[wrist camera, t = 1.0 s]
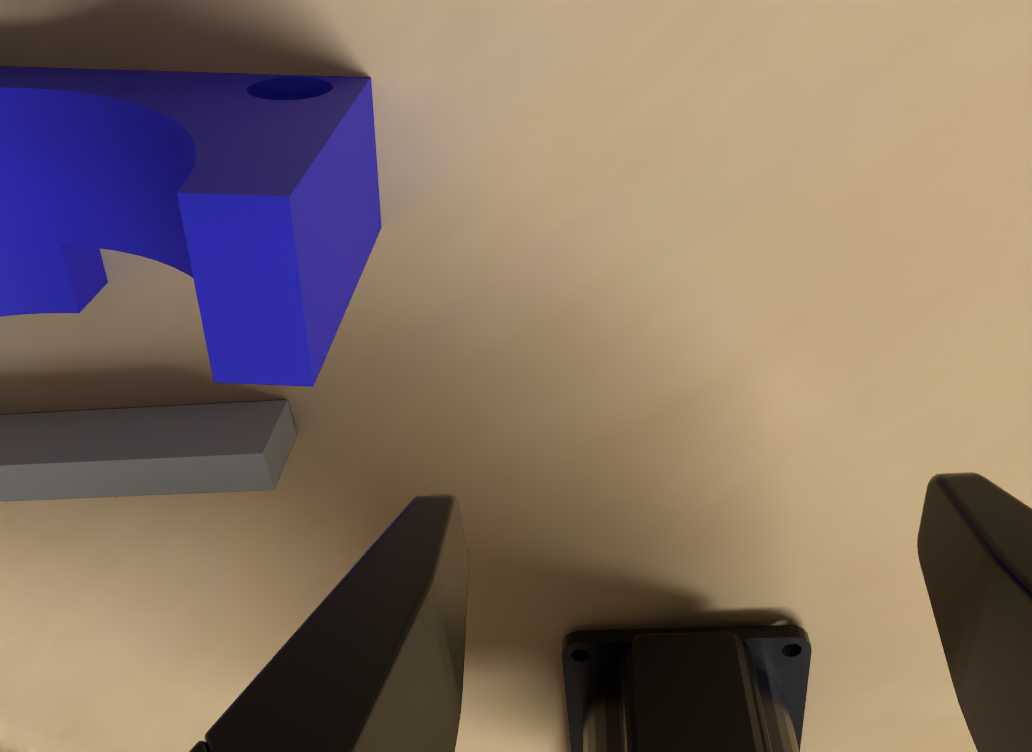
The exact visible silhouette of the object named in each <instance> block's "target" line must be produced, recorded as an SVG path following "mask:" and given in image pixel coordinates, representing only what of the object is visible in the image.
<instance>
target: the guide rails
mask: <svg viewBox="0 0 1032 752" xmlns="http://www.w3.org/2000/svg"><path fill="white" fill-rule="evenodd" d="M296 436H297V432H296V429H295V425H294V422H293V418H292V415H291V411H290V407H289V404H288V400H274V401H255V402H236V403H217V404H197V405H178V406H159V407H139V408H120V409H101V410H81V411H62V412H43V413H23V414H4V415H0V501H23V500H47V499H70V498H94V497H118V496H142V495H165V494H189V493H213V492H237V491H260V490H274V489H275V486H276V484H277V482H278V479H279V477H280V474H281V472H282V470H283V467H284V465H285V463H286V460H287V458H288V455H289V453H290V451H291V448H292V446H293V443H294V441H295V439H296Z"/></svg>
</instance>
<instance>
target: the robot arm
mask: <svg viewBox="0 0 1032 752" xmlns="http://www.w3.org/2000/svg"><path fill="white" fill-rule="evenodd" d="M917 547H918V556H919V561H920V565H921V569H922V573H923V576H924V580H925V584H926V587H927V591H928V595H929V598H930V602H931V606H932V609H933V613H934V617H935V620H936V624H937V627H938V631H939V635H940V638H941V642H942V646H943V649H944V653H945V657H946V660H947V664H948V668H949V671H950V675H951V678H952V682H953V685H954V688H955V692H956V695H957V698H958V702H959V705H960V707H961V710H962V713H963V715H964V718H965V721H966V723H967V726H968V729H969V731H970V733H971V736H972V738H973V741H974V743H975V746H976V748H977V751H978V752H1032V509H1031V508H1030V507H1028V506H1027V505H1025V504H1024V503H1022V502H1021V501H1019V500H1018V499H1016V498H1015V497H1013V496H1012V495H1010V494H1009V493H1007V492H1006V491H1004V490H1003V489H1001V488H1000V487H998V486H997V485H995V484H994V483H992V482H991V481H989V480H988V479H986V478H985V477H983V476H981V475H979V474H977V473H946V474H937V475H935V476H933V477H932V478H931V479H930V481H929V483H928V486H927V490H926V495H925V501H924V506H923V511H922V517H921V522H920V527H919V533H918V540H917ZM467 594H468V554H467V548H466V542H465V536H464V530H463V524H462V519H461V513H460V507H459V503H458V500H457V498H456V497H455V496H454V495H452V494H437V495H421V496H417V497H416V498H414V499H413V500H412V501H411V502H410V503H409V504H408V505H407V507H406V508H405V509H404V510H403V511H402V512H401V513H400V515H399V516H398V517H397V518H396V519H395V520H394V521H393V522H392V524H391V525H390V526H389V527H388V528H387V529H386V530H385V531H384V533H383V534H382V535H381V536H380V537H379V538H378V539H377V541H376V542H375V543H374V544H373V545H372V546H371V547H370V548H369V550H368V551H367V552H366V553H365V554H364V555H363V556H362V557H361V559H360V560H359V561H358V562H357V563H356V564H355V565H354V567H353V568H352V569H351V570H350V571H349V572H348V573H347V574H346V576H345V577H344V578H343V579H342V580H341V581H340V582H339V583H338V585H337V586H336V587H335V588H334V589H333V590H332V591H331V593H330V594H329V595H328V596H327V597H326V598H325V599H324V600H323V602H322V603H321V604H320V605H319V606H318V607H317V608H316V609H315V611H314V612H313V613H312V614H311V615H310V616H309V617H308V619H307V620H306V621H305V622H304V623H303V624H302V625H301V626H300V628H299V629H298V630H297V631H296V632H295V633H294V634H293V635H292V637H291V638H290V639H289V640H288V641H287V642H286V643H285V645H284V646H283V647H282V648H281V649H280V650H279V651H278V652H277V654H276V655H275V656H274V657H273V658H272V659H271V660H270V661H269V663H268V664H267V665H266V666H265V667H264V668H263V669H262V671H261V672H260V673H259V674H258V675H257V676H256V677H255V678H254V680H253V681H252V682H251V683H250V684H249V685H248V686H247V687H246V689H245V690H244V691H243V692H242V693H241V694H240V695H239V697H238V698H237V699H236V700H235V701H234V702H233V703H232V704H231V706H230V707H229V708H228V709H227V710H226V711H225V712H224V713H223V715H222V716H221V717H220V718H219V719H218V720H217V721H216V723H215V724H214V725H213V726H212V727H211V728H210V729H209V730H208V732H207V733H206V734H205V741H206V743H205V742H204V741H199V742H198V743H197V744H196V745H195V746H194V747H193V748H192V749H191V750H190V751H189V752H455V746H456V740H457V734H458V727H459V720H460V713H461V702H462V690H463V673H464V653H465V633H466V614H467ZM788 644H790V645H788ZM578 649H583V650H578ZM810 658H811V645H810V641H809V638H808V634H807V632H806V631H805V630H804V629H803V628H801V627H798V626H792V625H781V626H743V627H704V628H666V629H628V630H589V631H575V632H571V633H569V634H567V635H566V636H565V637H564V638H563V642H562V661H563V671H564V680H565V690H566V700H567V710H568V719H569V729H570V739H571V748H572V752H800V744H801V736H802V727H803V718H804V710H805V701H806V693H807V684H808V675H809V667H810Z"/></svg>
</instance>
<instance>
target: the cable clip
mask: <svg viewBox="0 0 1032 752" xmlns="http://www.w3.org/2000/svg"><path fill="white" fill-rule="evenodd" d="M380 230H381V215H380V201H379V186H378V172H377V158H376V144H375V129H374V115H373V101H372V87H371V77H338V76H305V75H272V74H239V73H207V72H174V71H141V70H108V69H75V68H42V67H9V66H0V316H9V315H20V314H36V313H80V312H81V311H82V309H83V308H84V307H85V306H86V305H87V304H88V303H89V302H90V301H91V300H92V299H93V298H94V297H95V296H96V294H97V293H98V292H99V291H100V290H101V289H102V288H103V287H104V286H105V285H106V284H107V283H108V281H107V277H106V273H105V269H104V265H103V261H102V257H101V253H100V249H99V248H102V249H109V250H116V251H121V252H126V253H131V254H135V255H140V256H143V257H146V258H150V259H153V260H157V261H159V262H162V263H164V264H167V265H169V266H172V267H174V268H176V269H178V270H180V271H182V272H184V273H186V274H188V275H190V276H191V277H193V278H194V283H195V288H196V293H197V298H198V303H199V308H200V314H201V319H202V324H203V329H204V334H205V339H206V344H207V349H208V354H209V359H210V365H211V370H212V375H213V380H214V382H217V383H241V384H265V385H289V386H312V387H313V386H314V383H315V381H316V379H317V376H318V374H319V372H320V369H321V367H322V365H323V362H324V360H325V358H326V355H327V353H328V351H329V348H330V346H331V344H332V341H333V339H334V337H335V334H336V332H337V330H338V327H339V325H340V323H341V320H342V318H343V316H344V313H345V311H346V309H347V306H348V304H349V302H350V299H351V297H352V295H353V292H354V290H355V288H356V285H357V283H358V281H359V278H360V276H361V274H362V271H363V269H364V267H365V264H366V262H367V260H368V257H369V255H370V253H371V251H372V248H373V246H374V244H375V241H376V239H377V237H378V234H379V232H380Z"/></svg>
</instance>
